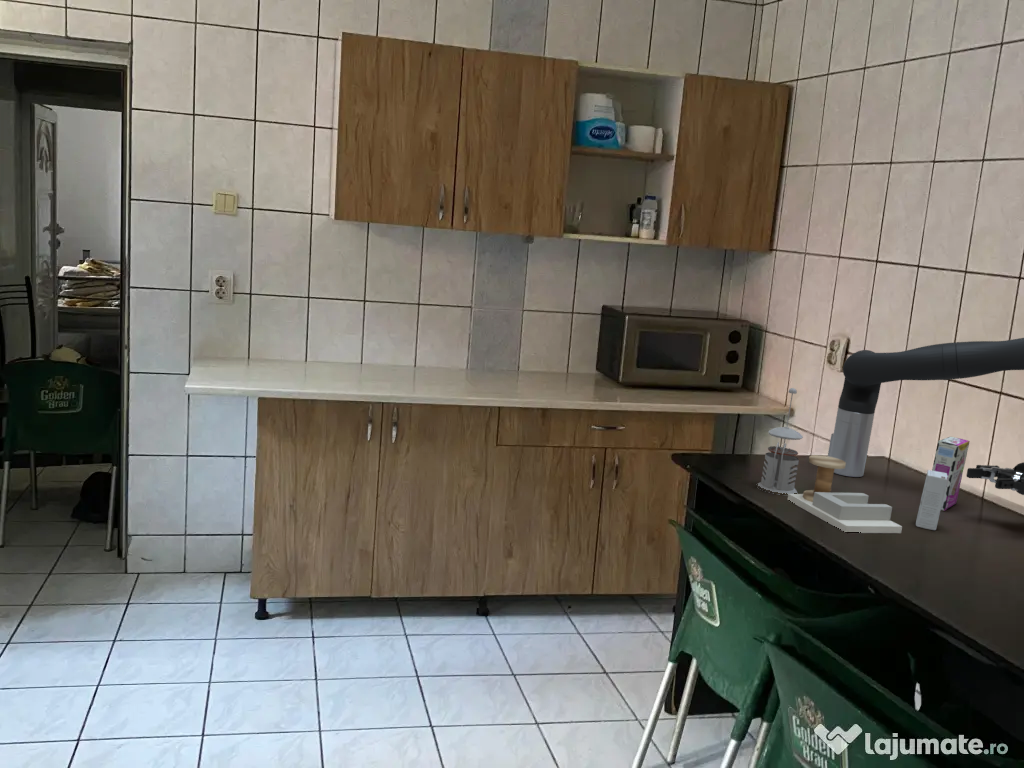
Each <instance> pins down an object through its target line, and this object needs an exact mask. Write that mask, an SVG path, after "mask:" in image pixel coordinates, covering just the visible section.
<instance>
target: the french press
mask: <svg viewBox="0 0 1024 768" xmlns="http://www.w3.org/2000/svg"><path fill="white" fill-rule="evenodd" d="M797 392H798V391H797V389H796V388H794V387H792V388H791V387H790V388H789V389H788V393H789V394H791V397H790V403H789V409H788V415H787V422H786V426H783V427H782V426H779V427H774V428H772V429H770V430H768V435H770V436H771V437H774V438H778V439H783V445H782V446H780V441H779V442H777V443H776V445H775V446H772V445H771V446H768V447H767V450H768V451H769V452H765V456H764V459H765V460H766V461H765V460H764V461H763V464H764V465H763V467H762V469H763V470H762V476H761V481H760V482H758V483H757V484H758V486H760V487H761V488H764V489H766V490H770V491H772V492H778V493H782V494H783V493H785V494H786V493H787V494H794V493H797V494H798V491H797V489H796V488H795V485H796V479H797V478H796V476H797V473H798V472H797V471H798V466H799V458H798V457H797V456H798V454H799V452H798V451H797V450H795V449H792V448H789V447H788V448H787V443H786V440H789V441H790V440H791V441H797V440H802V439H803V438H804V436H803V435H802V434H801V433H800V432H799V431H797V430H796V429H793V428H790V427H789V426H788V425H789V420H790V414H791V408H792V400H793V394H794V395H796V394H797ZM792 472H793V473H792ZM791 482H792V483H791Z"/></svg>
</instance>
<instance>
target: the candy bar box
mask: <svg viewBox="0 0 1024 768" xmlns="http://www.w3.org/2000/svg"><path fill="white" fill-rule="evenodd" d="M969 446H970V440H967V439H963V438H959V437H953V436H948V437H945V438H943V439H940V440H938V441H937V446H936V450H935V453H934V460H933V462H932V463H933V464H932V469H931V471H937V472H943V473H947V476H948V477H947V484H946V489H945V493H944V498H943V502H942V506H941V511H943V512H945V511H947V510H948V509H949V508H951V507H953V506H955V505H956V504H957V502H958V496H959V492H960V487H961V482H962V478H963V473H964V469H965V464H966V460H967V455H968V451H969V450H968V449H969Z"/></svg>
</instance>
